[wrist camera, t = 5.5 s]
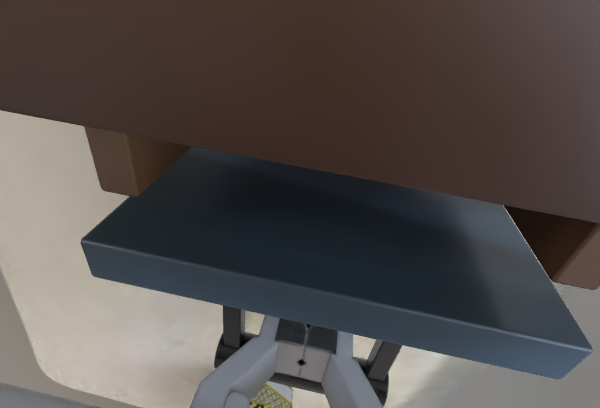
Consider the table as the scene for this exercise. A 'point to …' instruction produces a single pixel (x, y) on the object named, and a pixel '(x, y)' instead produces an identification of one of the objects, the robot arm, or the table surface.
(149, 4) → the cabinet
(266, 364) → the robot arm
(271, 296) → the drawer
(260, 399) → the ceramic cup
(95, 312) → the table surface
